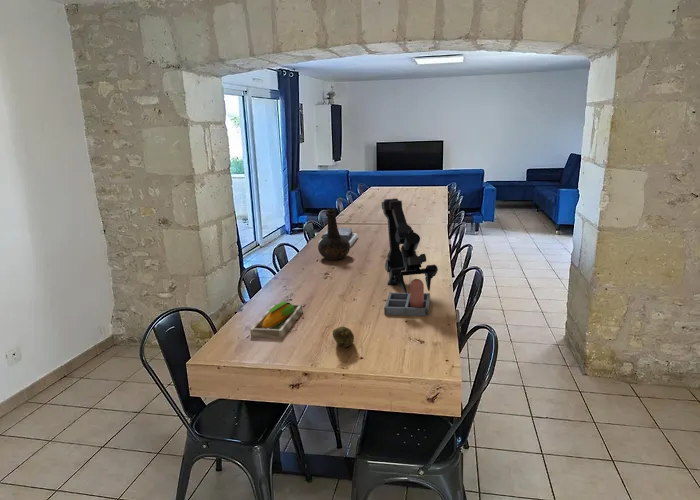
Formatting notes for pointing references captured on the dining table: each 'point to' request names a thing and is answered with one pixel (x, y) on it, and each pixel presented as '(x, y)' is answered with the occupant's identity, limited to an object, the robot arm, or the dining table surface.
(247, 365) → the dining table surface
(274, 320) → the corn
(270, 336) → the frame
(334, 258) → the brown vase
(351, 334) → the potato
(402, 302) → the gray compartment tray
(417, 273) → the robot arm
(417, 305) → the pink dome-topped cylinder
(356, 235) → the towel frame
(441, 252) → the dining table surface
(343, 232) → the towel
